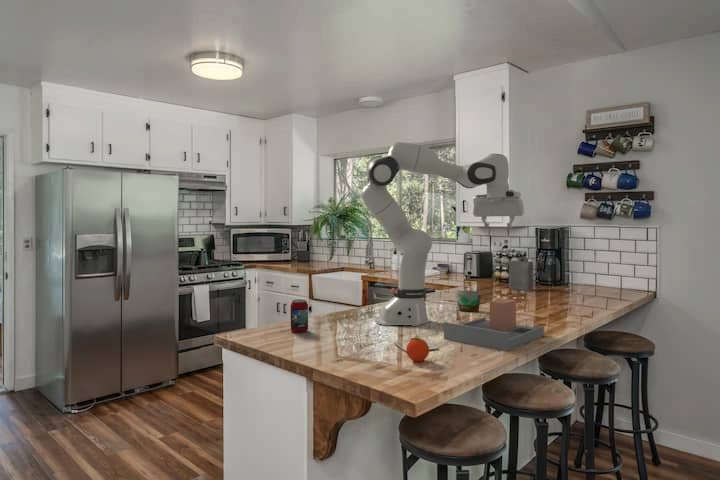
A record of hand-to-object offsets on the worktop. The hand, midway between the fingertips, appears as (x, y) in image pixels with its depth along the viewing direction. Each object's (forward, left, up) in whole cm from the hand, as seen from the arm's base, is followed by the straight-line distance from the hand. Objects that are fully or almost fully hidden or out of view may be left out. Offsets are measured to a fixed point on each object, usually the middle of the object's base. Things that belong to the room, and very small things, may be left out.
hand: (497, 227), depth 201 cm
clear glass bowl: (-42, -32, -40) cm, 67 cm away
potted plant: (-3, +26, -40) cm, 48 cm away
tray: (-11, -23, -40) cm, 47 cm away
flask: (+52, +87, -40) cm, 109 cm away
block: (-6, -19, -37) cm, 42 cm away
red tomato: (-45, -48, -40) cm, 77 cm away
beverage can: (-81, -4, -40) cm, 91 cm away
